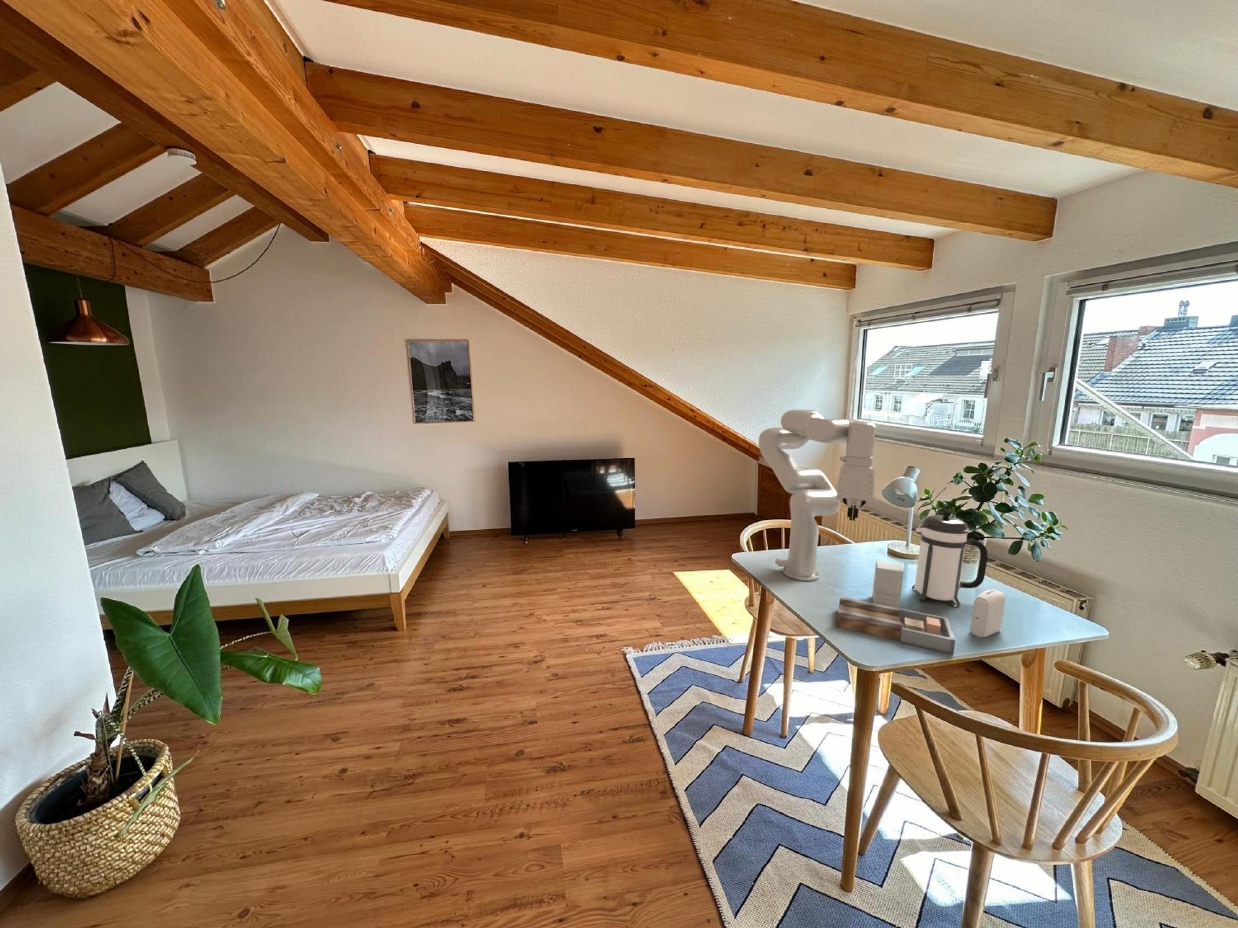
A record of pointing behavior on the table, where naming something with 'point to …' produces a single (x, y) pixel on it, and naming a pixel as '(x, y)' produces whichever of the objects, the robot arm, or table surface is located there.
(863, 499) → the robot arm
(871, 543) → the table surface
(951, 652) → the tray
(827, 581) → the table surface
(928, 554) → the coffee press
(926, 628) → the salmon orange block
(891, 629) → the slot block
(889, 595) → the supplement box
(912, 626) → the beige block
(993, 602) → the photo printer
